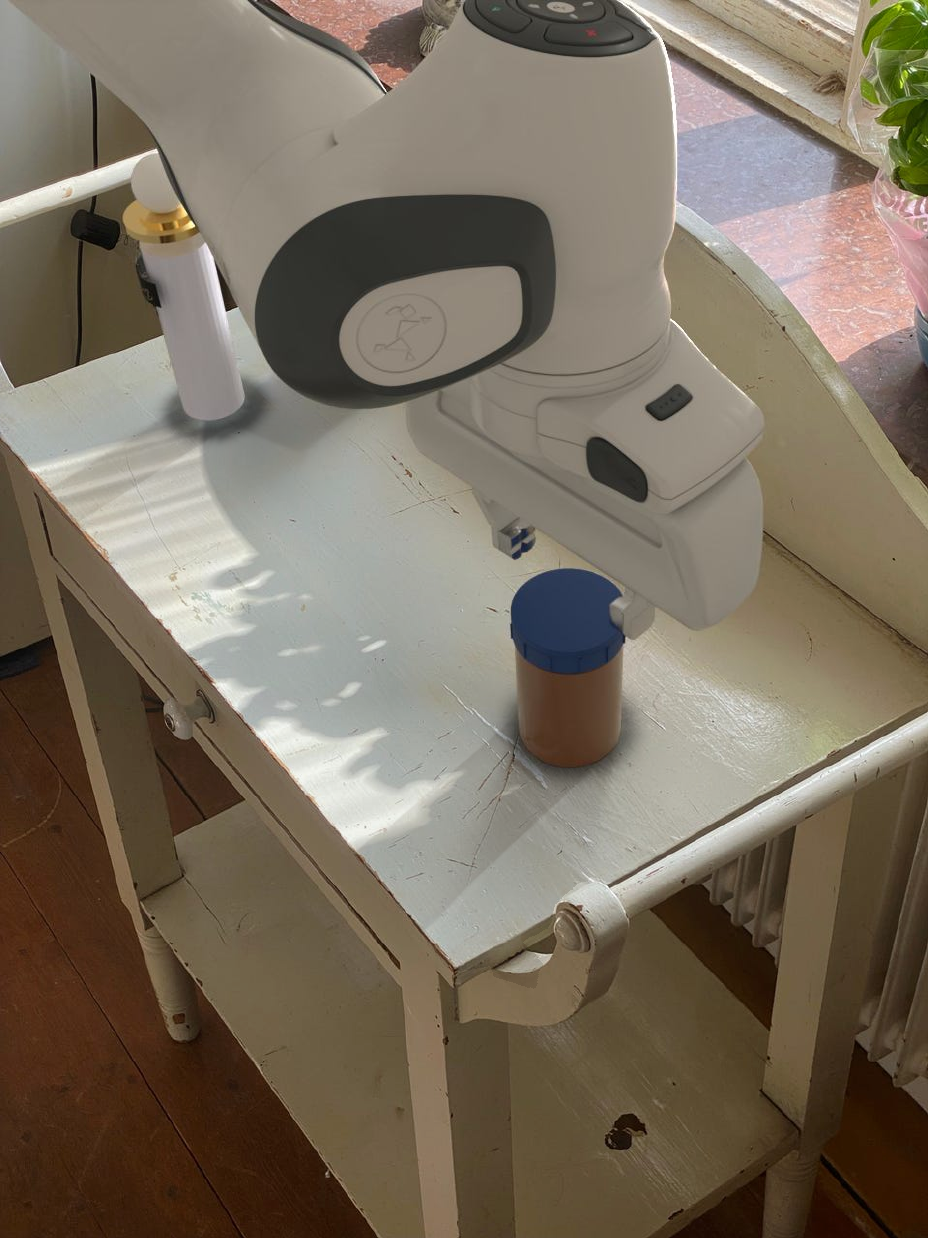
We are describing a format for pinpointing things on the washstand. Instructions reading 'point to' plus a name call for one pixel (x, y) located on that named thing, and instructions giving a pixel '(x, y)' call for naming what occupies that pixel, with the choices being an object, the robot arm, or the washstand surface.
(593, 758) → the jar
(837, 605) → the washstand surface
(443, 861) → the washstand surface
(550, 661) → the jar lid
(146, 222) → the perfume bottle
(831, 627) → the washstand surface
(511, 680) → the washstand surface
